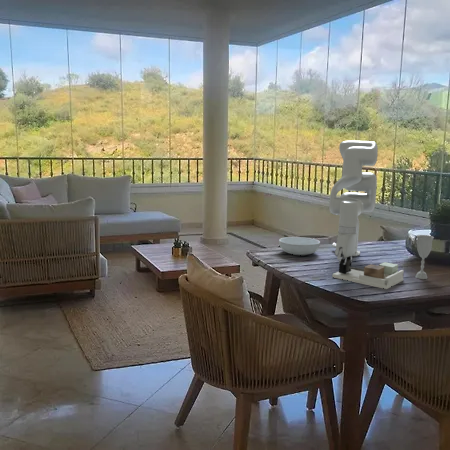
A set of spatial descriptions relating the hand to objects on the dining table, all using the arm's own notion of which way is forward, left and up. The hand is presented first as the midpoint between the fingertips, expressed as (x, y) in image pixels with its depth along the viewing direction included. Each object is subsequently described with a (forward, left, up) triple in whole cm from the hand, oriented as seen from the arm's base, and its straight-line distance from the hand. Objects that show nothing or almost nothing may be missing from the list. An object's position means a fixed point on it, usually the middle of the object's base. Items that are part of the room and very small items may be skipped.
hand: (344, 271), depth 214 cm
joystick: (+7, 0, 0) cm, 7 cm away
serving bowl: (-37, +23, -3) cm, 44 cm away
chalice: (+25, +23, -2) cm, 34 cm away
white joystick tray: (+9, +4, -2) cm, 10 cm away
